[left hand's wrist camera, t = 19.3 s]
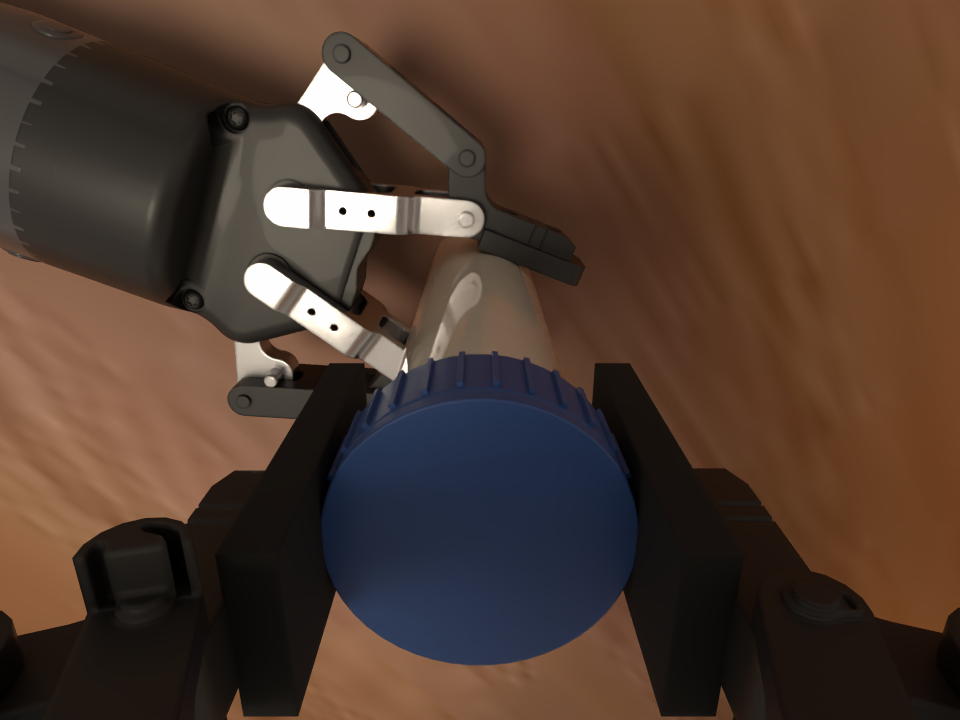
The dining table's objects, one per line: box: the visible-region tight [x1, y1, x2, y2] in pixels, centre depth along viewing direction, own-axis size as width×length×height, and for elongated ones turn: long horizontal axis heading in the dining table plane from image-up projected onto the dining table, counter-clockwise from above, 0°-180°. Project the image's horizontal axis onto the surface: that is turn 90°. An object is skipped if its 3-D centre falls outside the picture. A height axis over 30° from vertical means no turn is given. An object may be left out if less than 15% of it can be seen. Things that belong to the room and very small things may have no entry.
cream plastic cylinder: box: [395, 236, 565, 380], centre depth 20 cm, size 4×4×19 cm
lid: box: [321, 351, 638, 665], centre depth 11 cm, size 5×5×2 cm
